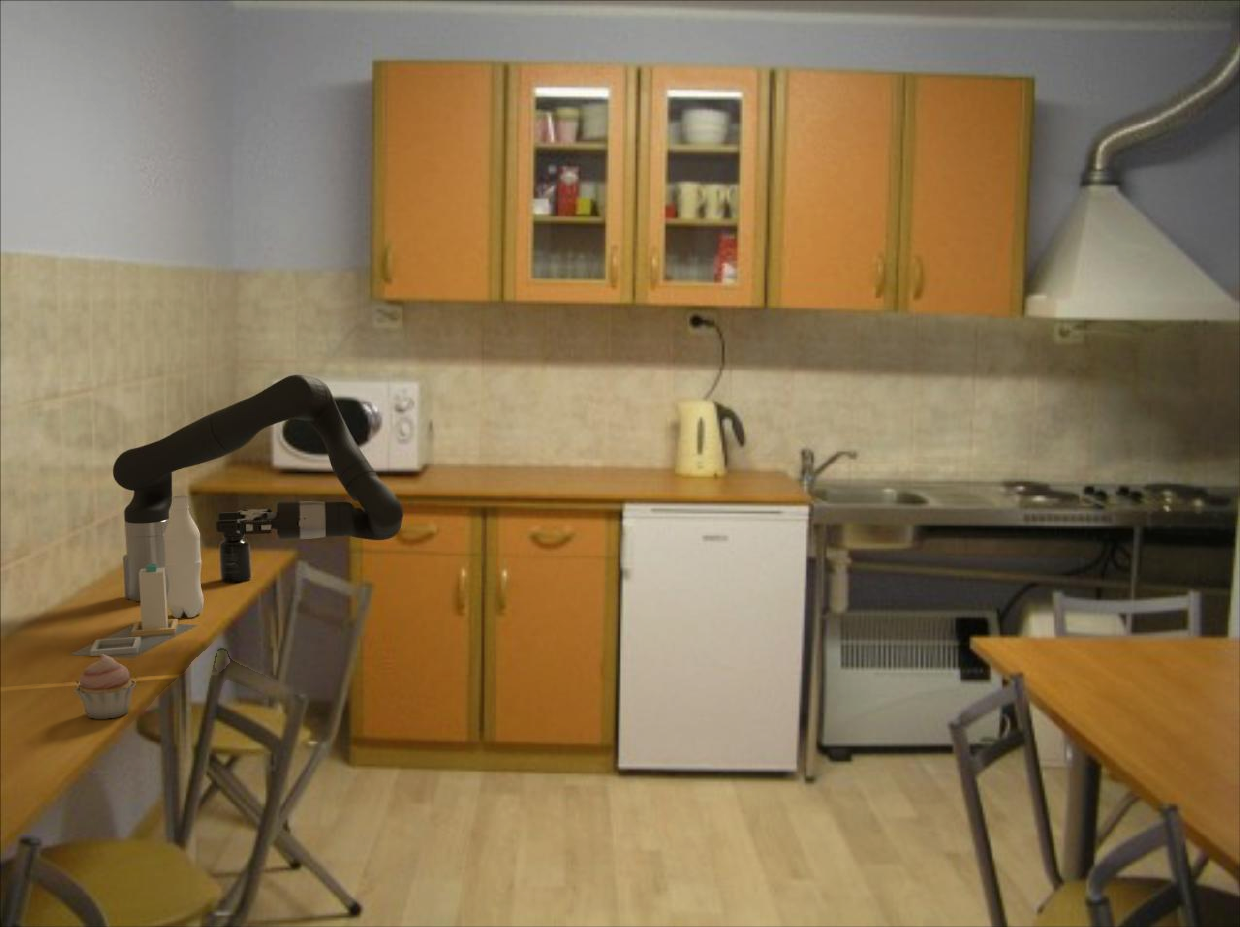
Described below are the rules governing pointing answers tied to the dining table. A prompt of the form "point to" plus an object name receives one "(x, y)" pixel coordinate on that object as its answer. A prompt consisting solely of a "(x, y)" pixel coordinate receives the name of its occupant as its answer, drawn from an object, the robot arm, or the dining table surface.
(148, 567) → the white tall box
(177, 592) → the water bottle
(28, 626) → the dining table surface
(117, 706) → the cupcake
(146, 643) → the panel
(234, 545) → the supplement bottle
